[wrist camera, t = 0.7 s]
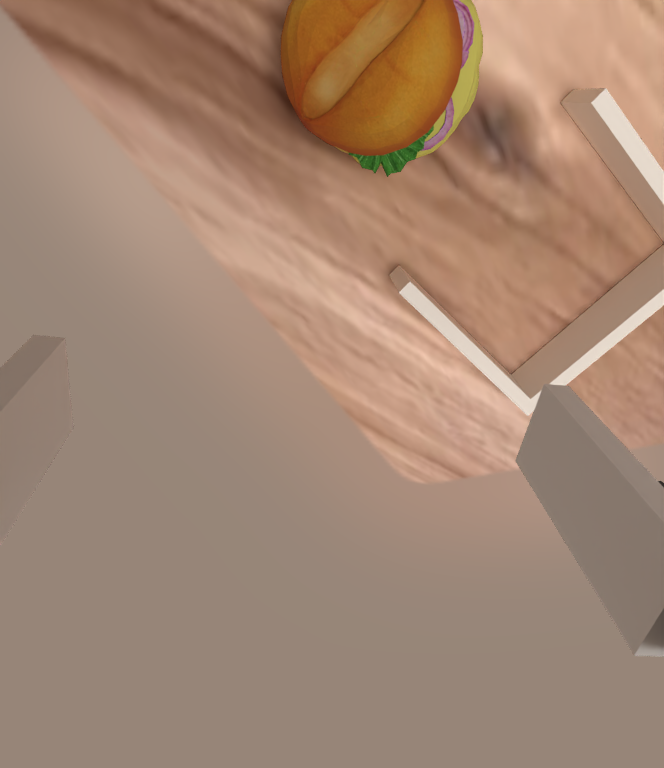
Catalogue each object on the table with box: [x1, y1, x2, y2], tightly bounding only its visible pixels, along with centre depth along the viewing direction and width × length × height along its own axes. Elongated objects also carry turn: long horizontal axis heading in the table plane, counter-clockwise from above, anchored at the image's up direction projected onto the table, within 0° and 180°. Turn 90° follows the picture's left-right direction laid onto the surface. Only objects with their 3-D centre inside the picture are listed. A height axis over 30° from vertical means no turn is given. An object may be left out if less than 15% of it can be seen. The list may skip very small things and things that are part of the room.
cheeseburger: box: [281, 0, 483, 177], centre depth 30 cm, size 10×11×10 cm
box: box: [389, 88, 664, 416], centre depth 37 cm, size 14×16×4 cm
